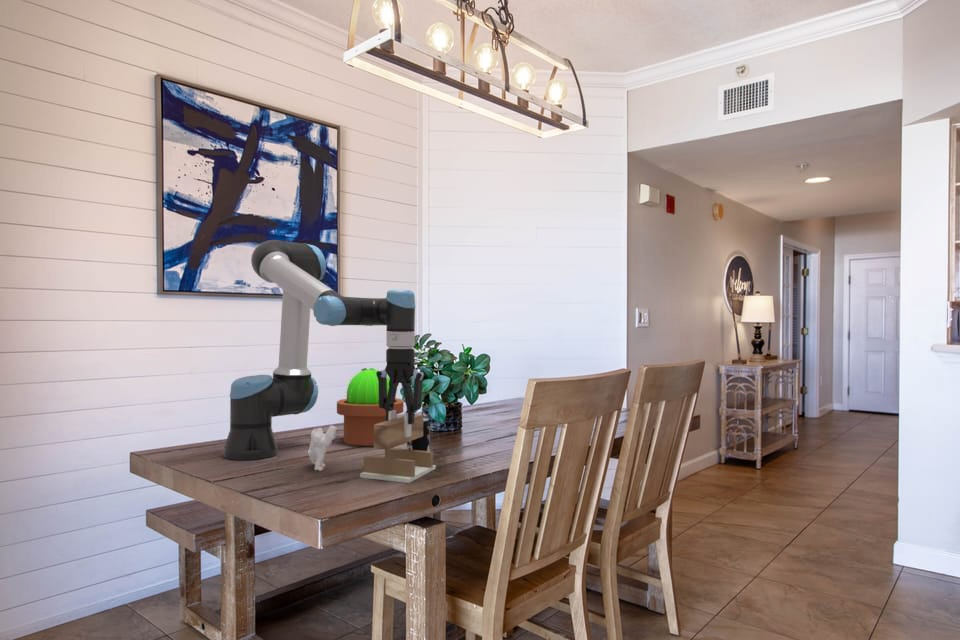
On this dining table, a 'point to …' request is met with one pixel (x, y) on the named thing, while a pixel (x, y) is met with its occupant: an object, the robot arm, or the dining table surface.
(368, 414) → the potted cactus
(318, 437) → the figurine
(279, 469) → the dining table surface
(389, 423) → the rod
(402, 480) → the rest stand
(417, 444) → the beverage can
